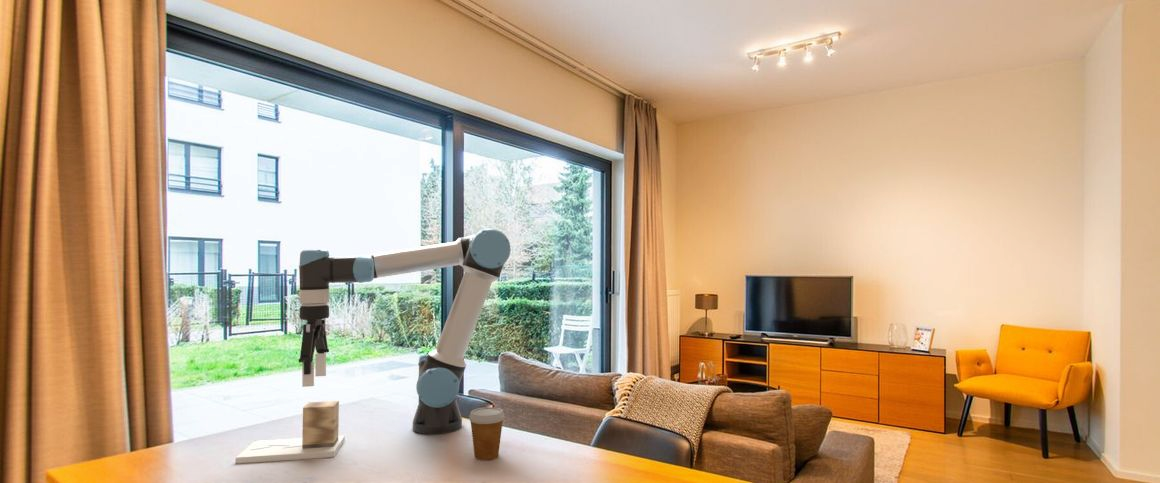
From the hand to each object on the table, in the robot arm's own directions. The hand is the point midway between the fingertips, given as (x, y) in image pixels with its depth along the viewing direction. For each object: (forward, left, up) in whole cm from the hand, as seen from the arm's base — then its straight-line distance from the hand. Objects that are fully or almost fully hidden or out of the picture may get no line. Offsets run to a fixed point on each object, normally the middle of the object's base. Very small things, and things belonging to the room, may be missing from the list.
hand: (314, 381), depth 159 cm
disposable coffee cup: (-47, +15, -19) cm, 53 cm away
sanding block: (-2, 0, -18) cm, 18 cm away
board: (+5, 0, -19) cm, 20 cm away
